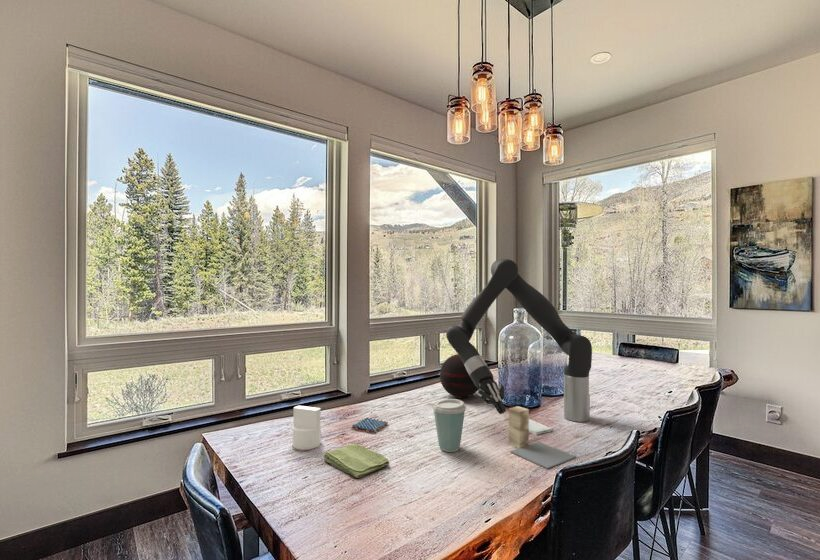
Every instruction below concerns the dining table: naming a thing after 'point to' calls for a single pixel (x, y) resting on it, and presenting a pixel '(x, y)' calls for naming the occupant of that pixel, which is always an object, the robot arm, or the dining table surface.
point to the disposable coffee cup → (449, 423)
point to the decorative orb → (456, 378)
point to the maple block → (518, 426)
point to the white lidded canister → (306, 427)
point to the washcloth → (355, 460)
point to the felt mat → (543, 455)
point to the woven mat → (370, 425)
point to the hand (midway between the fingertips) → (503, 412)
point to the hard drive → (538, 428)
